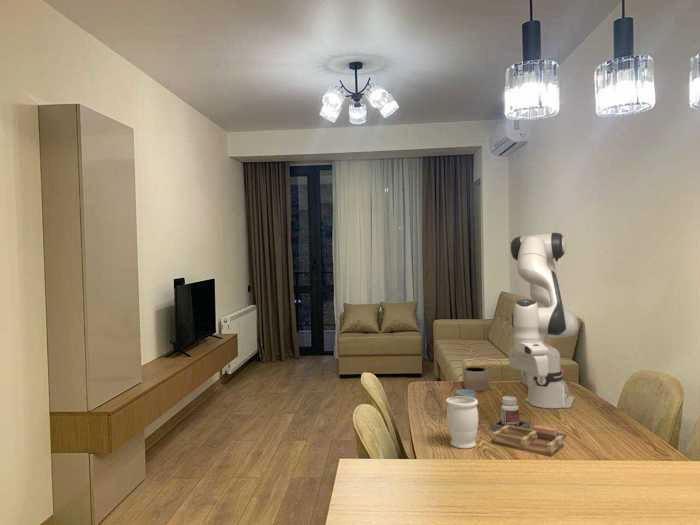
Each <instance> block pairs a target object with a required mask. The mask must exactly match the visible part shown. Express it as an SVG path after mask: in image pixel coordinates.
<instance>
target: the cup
mask: <svg viewBox="0 0 700 525" xmlns="http://www.w3.org/2000/svg"><path fill="white" fill-rule="evenodd" d="M454 392H455V394H454V395H455V397H456V396H465V397H471V398H475V399H476V392H475V391H473V390H466V389H457V390H455V391H454Z"/></svg>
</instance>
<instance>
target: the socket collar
mask: <svg viewBox="0 0 700 525" xmlns="http://www.w3.org/2000/svg"><path fill="white" fill-rule="evenodd" d="M502 427H504V426H502V417H501V418H500V419H498V420H496V421H494V422H492V423H490V431H494V432H496V431H497V430H499V429H501V428H502ZM519 427H520V428H525V429H530V430H531V422H529V421H524V420H519Z"/></svg>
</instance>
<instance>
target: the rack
mask: <svg viewBox="0 0 700 525" xmlns="http://www.w3.org/2000/svg"><path fill="white" fill-rule="evenodd" d="M491 444H494V445H497V446H501V447H507V448H511V449H515V450H520V451H523V452H528V453H532V454H537V455H543V456H547V457H553V456H554V455H556V454H557V453H558V452H559V451H560V450H561V449H562V448H564V444H565V443H564V439H563V436H562V435H559V436H558V437H556V438H555V439H554V440H553V441H549V440H544V439H539V438H538V436H537V431H536V430H533V429H531V428H530V429H525V428H520V427H515V426H510V425H506V426H504V427H502V428H501V429H499V430H497V431H494V432H492V439H491Z"/></svg>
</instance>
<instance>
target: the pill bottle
mask: <svg viewBox="0 0 700 525" xmlns="http://www.w3.org/2000/svg"><path fill="white" fill-rule="evenodd" d="M501 402H502V404H501V405H500V406H501V407H500V412H501V418H502V426H506V425H510V426H515V427H519V421H520V408H519V405H518V398H517V397H515V396H509V395H507V396H503V397H502V398H501Z"/></svg>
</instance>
